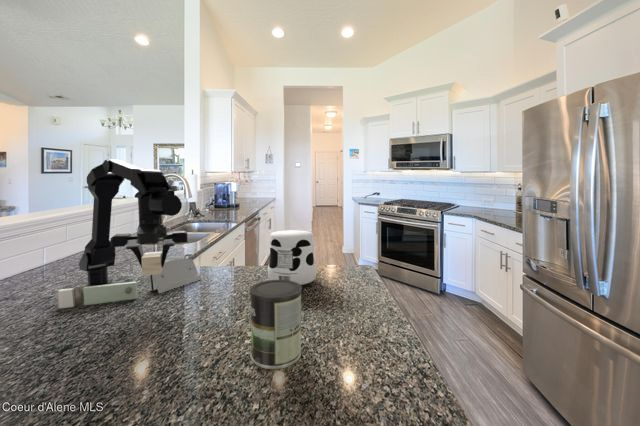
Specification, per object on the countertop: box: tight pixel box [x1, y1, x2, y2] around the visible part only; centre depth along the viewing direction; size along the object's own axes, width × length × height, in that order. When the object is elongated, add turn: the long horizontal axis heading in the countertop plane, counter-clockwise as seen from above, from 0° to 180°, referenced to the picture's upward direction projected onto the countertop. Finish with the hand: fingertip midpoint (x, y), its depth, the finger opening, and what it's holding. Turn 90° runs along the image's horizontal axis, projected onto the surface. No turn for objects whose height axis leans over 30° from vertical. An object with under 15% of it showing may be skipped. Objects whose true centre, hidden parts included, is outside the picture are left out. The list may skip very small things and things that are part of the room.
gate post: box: [73, 285, 84, 307], centre depth 85 cm, size 2×2×6 cm
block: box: [141, 250, 163, 277], centre depth 84 cm, size 7×4×5 cm, turn 24°
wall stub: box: [57, 287, 76, 310], centre depth 84 cm, size 2×3×5 cm, turn 114°
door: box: [82, 280, 138, 306], centre depth 87 cm, size 3×13×5 cm, turn 114°
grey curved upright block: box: [148, 258, 202, 294], centre depth 103 cm, size 17×5×10 cm, turn 150°
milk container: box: [267, 229, 317, 287], centre depth 104 cm, size 17×17×18 cm
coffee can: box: [249, 279, 303, 370], centre depth 59 cm, size 10×10×14 cm
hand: (153, 267), depth 84 cm, fingers closed on block, 4 cm apart
